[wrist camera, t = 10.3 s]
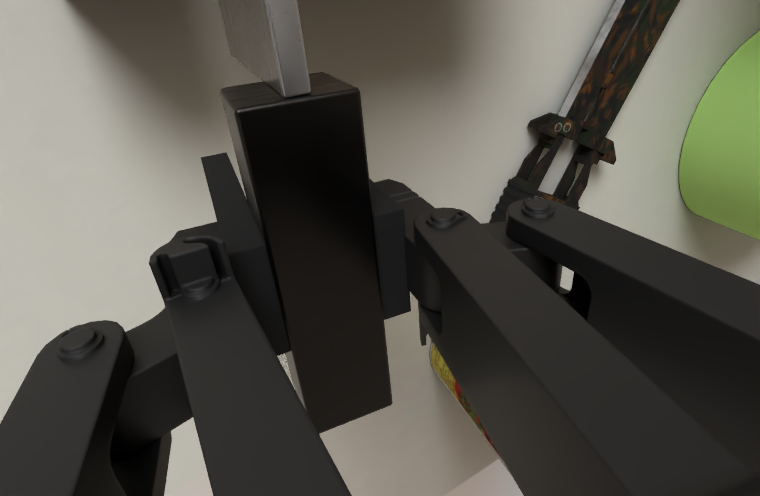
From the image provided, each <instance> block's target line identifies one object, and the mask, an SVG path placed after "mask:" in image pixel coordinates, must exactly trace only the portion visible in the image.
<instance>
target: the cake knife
mask: <svg viewBox="0 0 760 496" xmlns="http://www.w3.org/2000/svg"><path fill="white" fill-rule="evenodd" d="M218 2H219V6H220V11H221V15H222V19H223V24H224V28H225V32H226V37H227V41H228V45H229V50H230V54H231V56H233V57H234V58H235V59H236V60H238V61H239V62H240V63H241V64H243V65H244V66H245V67H246V68H247V69H249V70H250V71H251V72H252V73H254V74H255V75H256V76H257V77H259V78H260V79H261V80H262V81H263V82H257V83H250V84H244V85H238V86H232V87H226V88H223V89H221V92H220V94H221V98H222V102H223V106H224V110H225V114H226V118H227V122H228V126H229V130H230V134H231V138H232V142H233V146H234V150H235V154H236V158H237V162H238V166H239V170H240V174H241V178H242V182H243V186H244V190H245V194H246V198H247V202H248V206H249V209H250V211H251V213H252V216H253V218H254V220H255V223H256V225H257V227H258V229H259V232H260V234H261V236H262V239H263V241H264V243H265V246H266V250H267V255H268V259H269V263H270V267H271V271H272V275H273V279H274V284H275V288H276V292H277V296H278V300H279V304H280V308H281V312H282V317H283V321H284V325H285V329H286V333H287V337H288V341H289V346H290V350H291V351H290V352H287V353H285V354H286V358H287V362H288V366H289V370H290V374H291V378H292V381H293V384H294V386H295V389H296V392H297V395H298V397H299V398H300V400H301V402H302V404H303V406H304V408H305V410H306V411H307V413H308V415H309V417H310V419H311V421H312V423H313V425H314V426H315V428H316V430H317V432H318V434H320V433H322V432H325V431H327V430H330V429H332V428H335V427H337V426H340V425H342V424H345V423H347V422H350V421H352V420H355V419H357V418H360V417H362V416H365V415H367V414H370V413H372V412H375V411H377V410H380V409H383V408H385V407H388V406H390V405H391V404H392V394H391V384H390V375H389V365H388V355H387V346H386V336H385V327H384V317H383V307H382V298H381V288H380V279H379V269H378V259H377V250H376V240H375V231H374V221H373V211H372V202H371V192H370V183H369V173H368V163H367V154H366V144H365V135H364V125H363V115H362V106H361V96H360V91H359V89H358V88H357V87H354V86H352V85H350V84H348V83H346V82H344V81H341V80H339V79H337V78H335V77H333V76H331V75H328V74H326V73H324V72H319V73H313V74H309V72H308V66H307V59H306V53H305V46H304V40H303V33H302V27H301V20H300V14H299V7H298V1H297V0H218Z"/></svg>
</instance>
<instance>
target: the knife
mask: <svg viewBox="0 0 760 496" xmlns="http://www.w3.org/2000/svg"><path fill="white" fill-rule="evenodd" d="M646 1H647V0H616V1H615V3H614V5H613V7H612V9H611V11H610V13H609V15H608V17H607V19H606V21H605V23H604V25H603V27H602V28H601V30H600V32H599V34H598V36H597V38H596V40H595V42H594V44H593V46H592V48H591V50H590V52H589V54H588V56H587V58H586V60H585V62H584V64H583V66H582V68H581V70H580V72H579V74H578V76H577V78H576V80H575V82H574V84H573V86H572V88H571V90H570V92H569V94H568V96H567V98H566V100H565V102H564V104H563V106H562V108H561V110H560V112H559V114H558V115H556V114H553V113H548V114H546V115H543V116H541V117H538V118H536V119H534V120H531V121H530V123H529V125H528V127H530V128H532V129H534V130H536V131H538V132H541V133H543V134H542V136H541V138H540V141H539V143H538V145H537V146H536V147H535V148H534V149H533V150H532V152H531V153H530V154H529V155H528V156H527V157H526V158H525V159H524V161H523V163H522V165H521V167H520V169H519V171H518V173H517V175H516V176H515V177H514V178H512V179H509V181H508V186H507V188H506V187H505V189H504V194H503V196H502V195H501V197H500V199H499V200H500V202H499V204H497V205H496V207H495V208H496V210H495V212H494V211H493V213H492V218H491V220H490V222H489V223H495V222H505V221H506V212H507V208H508V206H509V205H510V204H512V203H513V202H515V201H518V200H523V199H525V198H532V197H534V196H538V197H541V198H544V199H549V200H552V201H555V202H559V203H561V204H564V205H566V206H569V207H571V208H573V209H576V210H579V208H580V207H578V201H579V199H580V197H581V195H582V193H583V191H584V190H585V188H586V186H587V183H588V178H589V173H590V169H591V166H592V164H593V163H594V164H596V165H597V164H598V162H599V160H602V161H605V162H607V163H610V164H613V165H614V163H615V161H616V155H615V149H614V143H613V141H611V140H609V139H607V138H605V137H606V135H607V133H608V131H609V129H610V127H611V126H612V124H613V122H614V120H615V118H616V116H617V115H618V113H619V111H620V109H621V107H622V105H623V104H624V102H625V100H626V98H627V96H628V94H629V93H630V91H631V89H632V87H633V85H634V83H635V82H636V80H637V78H638V76H639V74H640V72H641V71H642V69H643V67H644V65H645V63H646V61H647V60H648V58H649V56H650V54H651V52H652V50H653V49H654V47H655V45H656V43H657V41H658V39H659V38H660V36H661V34H662V32H663V30H664V28H665V27H666V25H667V23H668V21H669V19H670V17H671V16H672V14H673V12H674V10H675V8H676V6H677V5H678V3H679V1H680V0H650V2H649V3H648V5H647V7H646V9H645V11H644V13H643V15H642V17H641V19H640V20H639V22H638V24H637V26H636V28H635V30H634V32H633V34H632V36H631V38H630V39H629V41H628V43H627V45H626V47H625V49H624V51H623V53H622V55H621V57H620V58H619V60H618V62H617V64H616V66H615V68H614V70H613V72H612V74H611V73H609V72H610V70H611V68H612V66H613V64H614V62H615V60H616V58H617V56H618V55H619V53H620V51H621V49H622V47H623V45H624V43H625V41H626V39H627V37H628V36H629V34H630V32H631V30H632V28H633V26H634V24H635V22H636V20H637V18H638V16H639V15H640V13H641V11H642V9H643V7H644V5H645V3H646ZM601 87H603V88H604V89H603V91H602V93H601V95H600V96H599V98H598V100H597V102H596V104H595V106H594V108H593V110H592V112H591V113H590V115H589V117H588V119H587V121H586V123H585V122H584V119H585V117H586V116H587V114H588V112H589V110H590V108H591V106H592V104H593V102H594V100H595V98H596V96H597V95H598V93H599V91H600V89H601ZM565 137H566V138H569V139H572V140H575V141H574V142H577V143H579V144H581V145H582V146H583V147H582V146H579V147H578V149H577V151H576V153H575V155H574V157H573V158H572V160H571V162H570V164H569V166H568V168H567V170H566V172H565V173H564V175H563V177H562V179H561V181H560V183H559V185H558V187H557V189H556V190H555V192H554V194H553V195H550V194H547V193H544V192H541V191H539V190H538V188H539V186H540V184H541V182H542V180H543V178H544V176H545V174H546V173H547V171H548V169H549V167H550V165H551V163H552V161H553V159H554V157H555V155H556V153H557V151H558V149H559V147H560V146H561V144H562V142H563V140H564V138H565ZM544 147H545V148H548V149H550V150H549V151H548V152H547V153H546V154H545V156H544V157H543V158H542V159H541V160H540V161H539V162H538V163H537V161H538V159H539V157H540V155H541V153H542V151H543V149H544ZM578 162H579V163H582V164H584V167H583V168H582V170H581V172H580V174H579V176H578V178H577V180H576V181H575V183H574V185H573V187H572V189H571V191H570V192H569V194H568V196H567V195H566V194H567V193H568V191H569V189H570V187H571V185H572V183H573V181H574V179H575V174H576V170H577V165H578ZM536 163H537V164H536ZM535 165H536V166H535ZM534 167H535V168H534ZM533 169H534V170H533ZM532 171H533V172H532ZM531 173H532V174H531ZM530 175H531V176H530ZM529 177H530V178H529ZM528 179H529V180H528Z"/></svg>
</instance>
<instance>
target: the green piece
mask: <svg viewBox="0 0 760 496" xmlns="http://www.w3.org/2000/svg"><path fill="white" fill-rule="evenodd" d="M679 184H680V190H681V195H682V197H683V200H684V202H685V204H686V206H687V207H688V208H689V209H690V210H691V211H692V212H693V213H694V214H697V215H699V216H701V217H704V218H706V219H709V220H711V221H713V222H716V223H718V224H721V225H723V226H726V227H728V228H731V229H733V230H736V231H738V232H741V233H743V234H746V235H748V236H751V237H753V238H756V239H758V240H760V31H758V32H757V33H756V34H755V35H753V36H752V37H751V38H750V39H748V40H747V41H746V42H745V43H744V44H742V45H741V47H740V48H739V49H738V50H737V51H736V52H735V53H734V54H733V55H732V56H731V57H730V58H729V59H728V60H727V62H726V63H725V64H724V66H723V67H722V68H721V70H720V71H719V72H718V74H717V75H716V76H715V78H714V79H713V80H712V82H711V84H710V85H709V87H708V89H707V90H706V92H705V94H704V96H703V97H702V99H701V101H700V102H699V104H698V107H697V109H696V111H695V113H694V116H693V118H692V120H691V122H690V125H689V128H688V131H687V134H686V137H685V140H684V143H683V147H682V153H681V158H680V164H679Z"/></svg>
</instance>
